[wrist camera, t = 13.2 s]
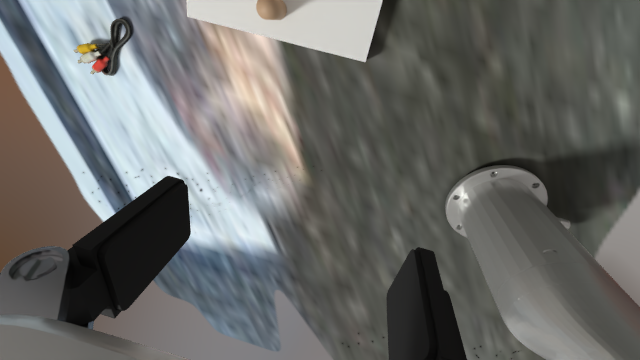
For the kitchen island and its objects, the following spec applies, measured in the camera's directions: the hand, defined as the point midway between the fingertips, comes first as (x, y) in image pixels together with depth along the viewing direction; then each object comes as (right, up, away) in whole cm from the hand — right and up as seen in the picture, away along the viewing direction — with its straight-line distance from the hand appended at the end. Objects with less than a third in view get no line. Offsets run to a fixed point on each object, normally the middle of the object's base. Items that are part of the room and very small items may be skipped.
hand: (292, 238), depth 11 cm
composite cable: (-28, +21, +27) cm, 44 cm away
